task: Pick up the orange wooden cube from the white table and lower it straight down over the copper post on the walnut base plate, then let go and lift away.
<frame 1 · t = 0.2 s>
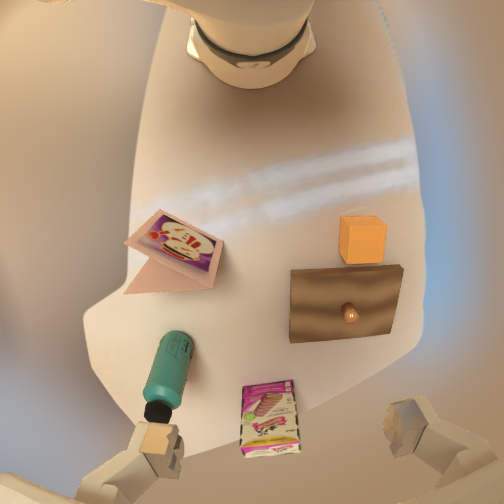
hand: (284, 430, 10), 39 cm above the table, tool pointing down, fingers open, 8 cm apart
greeting card: (184, 239, 48), on the table
beverage bottle: (179, 338, 56), on the table
post: (349, 313, 49), on the base plate, point 4 cm above the table
candy bar box: (268, 388, 61), on the table
orange wooden cube: (356, 233, 47), on the table
base plate: (344, 302, 52), on the table
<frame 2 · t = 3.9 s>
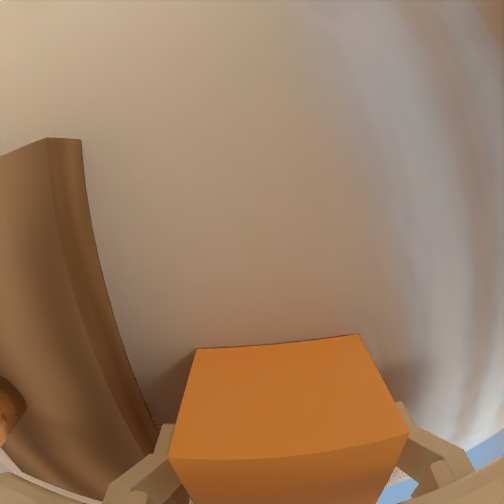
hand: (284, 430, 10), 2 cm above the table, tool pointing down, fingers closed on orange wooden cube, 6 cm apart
orange wooden cube: (281, 401, 11), on the table, touching gripper
base plate: (27, 372, 12), on the table
when the fingers open (5 cm above the table, at t = 9.1 s): orange wooden cube stays where it is, resting on base plate.
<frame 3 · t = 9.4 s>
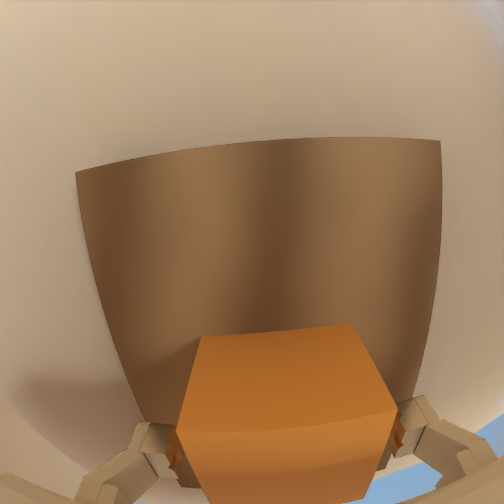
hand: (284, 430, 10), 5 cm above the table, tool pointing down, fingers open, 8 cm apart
orange wooden cube: (280, 387, 12), point 2 cm above the table, touching base plate
base plate: (276, 360, 14), on the table
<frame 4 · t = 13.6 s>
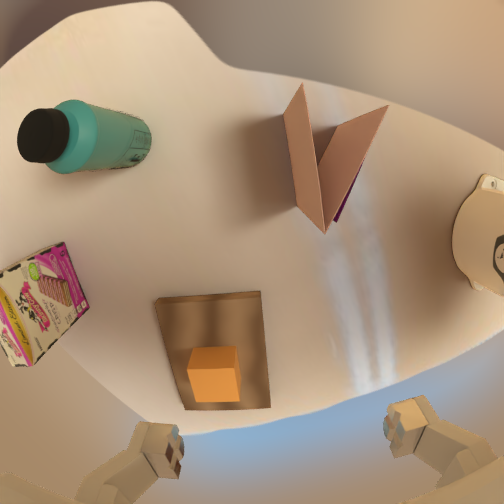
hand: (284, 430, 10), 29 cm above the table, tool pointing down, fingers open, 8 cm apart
greeting card: (297, 154, 35), on the table
beverage bottle: (134, 143, 34), on the table
candy bar box: (67, 276, 40), on the table
orange wooden cube: (217, 363, 41), point 2 cm above the table, touching base plate
base plate: (218, 355, 43), on the table
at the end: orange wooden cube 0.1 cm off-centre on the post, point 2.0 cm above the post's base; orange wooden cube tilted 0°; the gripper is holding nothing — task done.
